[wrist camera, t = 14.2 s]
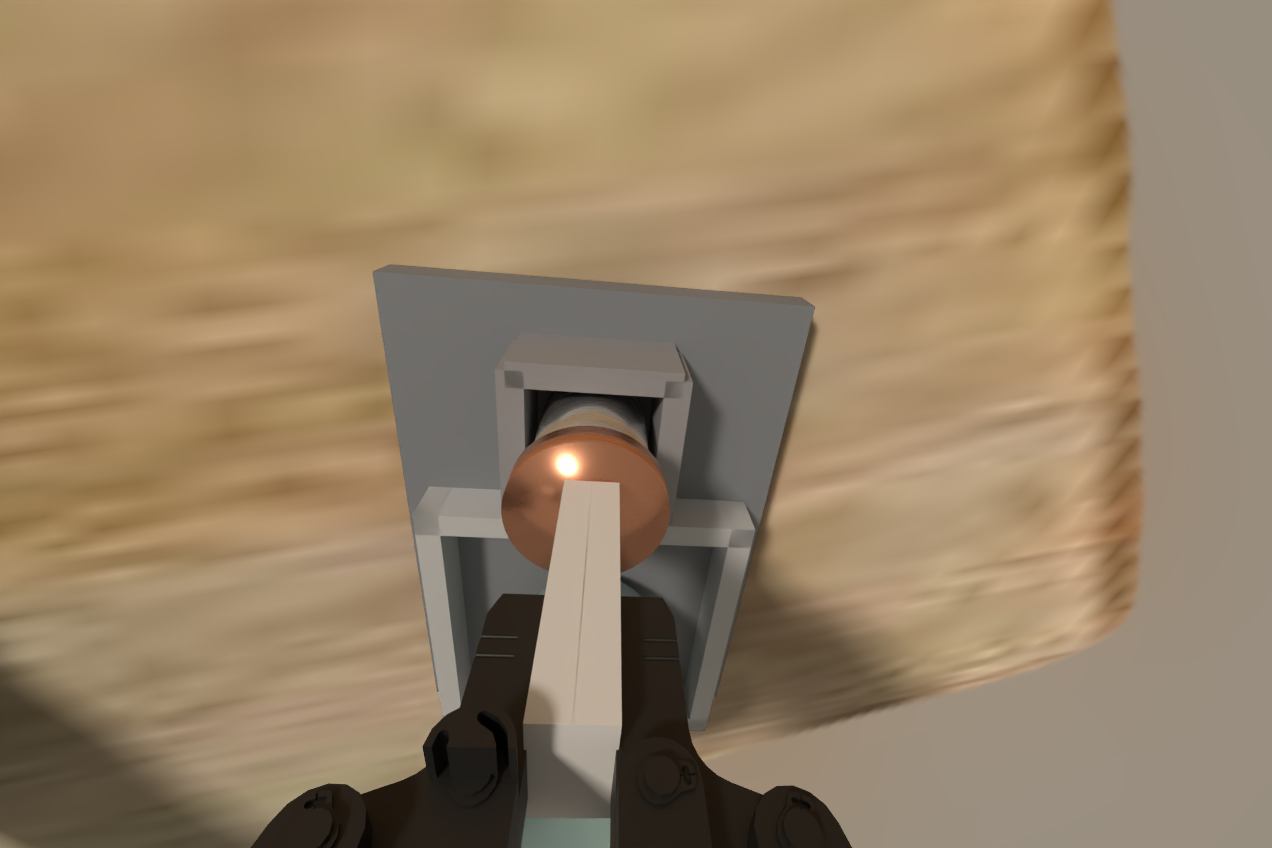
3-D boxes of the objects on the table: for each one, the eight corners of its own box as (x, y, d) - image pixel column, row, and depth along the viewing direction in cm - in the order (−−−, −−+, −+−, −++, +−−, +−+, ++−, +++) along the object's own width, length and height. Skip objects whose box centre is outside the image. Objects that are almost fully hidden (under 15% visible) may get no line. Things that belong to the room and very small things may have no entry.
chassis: (445, 667, 29) (416, 751, 25) (390, 264, 18) (324, 291, 14) (711, 673, 30) (727, 754, 26) (801, 297, 20) (852, 330, 15)
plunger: (533, 469, 20) (504, 576, 15) (532, 359, 18) (497, 437, 13) (648, 475, 20) (660, 581, 15) (660, 368, 18) (679, 448, 13)
